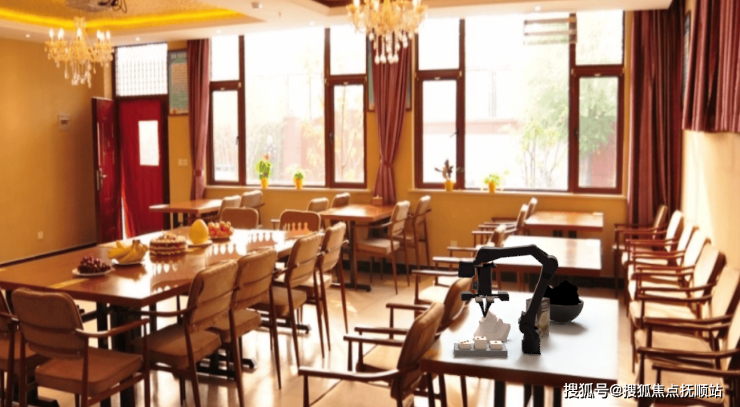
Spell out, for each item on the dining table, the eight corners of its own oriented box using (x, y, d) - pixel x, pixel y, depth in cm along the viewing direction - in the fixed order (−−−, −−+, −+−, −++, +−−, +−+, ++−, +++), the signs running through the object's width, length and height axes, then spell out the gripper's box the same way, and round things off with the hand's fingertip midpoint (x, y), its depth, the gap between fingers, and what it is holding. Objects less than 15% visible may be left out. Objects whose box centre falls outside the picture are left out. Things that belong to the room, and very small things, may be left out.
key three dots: (470, 350, 265) (470, 339, 264) (470, 353, 260) (470, 343, 260) (458, 350, 265) (458, 339, 265) (459, 353, 261) (459, 343, 260)
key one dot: (500, 350, 264) (500, 340, 264) (502, 354, 260) (502, 343, 259) (489, 350, 264) (489, 340, 264) (490, 354, 260) (490, 343, 259)
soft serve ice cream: (509, 348, 272) (505, 317, 268) (472, 348, 277) (468, 318, 272) (511, 332, 283) (507, 302, 279) (475, 333, 288) (472, 303, 284)
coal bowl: (590, 321, 305) (591, 280, 303) (571, 331, 290) (571, 288, 289) (550, 314, 318) (550, 275, 317) (529, 323, 304) (530, 282, 302)
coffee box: (538, 339, 278) (538, 302, 277) (524, 336, 283) (525, 299, 281) (549, 335, 285) (550, 298, 283) (536, 332, 289) (537, 295, 288)
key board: (504, 349, 266) (504, 343, 266) (507, 356, 257) (507, 350, 257) (454, 349, 268) (454, 343, 267) (455, 356, 259) (455, 350, 258)
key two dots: (485, 346, 264) (485, 336, 264) (486, 349, 260) (486, 339, 259) (474, 346, 265) (474, 335, 264) (475, 349, 260) (475, 339, 260)
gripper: (506, 274, 271) (505, 312, 273) (459, 274, 273) (459, 312, 274) (509, 280, 260) (509, 319, 262) (461, 280, 262) (461, 319, 263)
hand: (484, 317), depth 265 cm, fingers closed
